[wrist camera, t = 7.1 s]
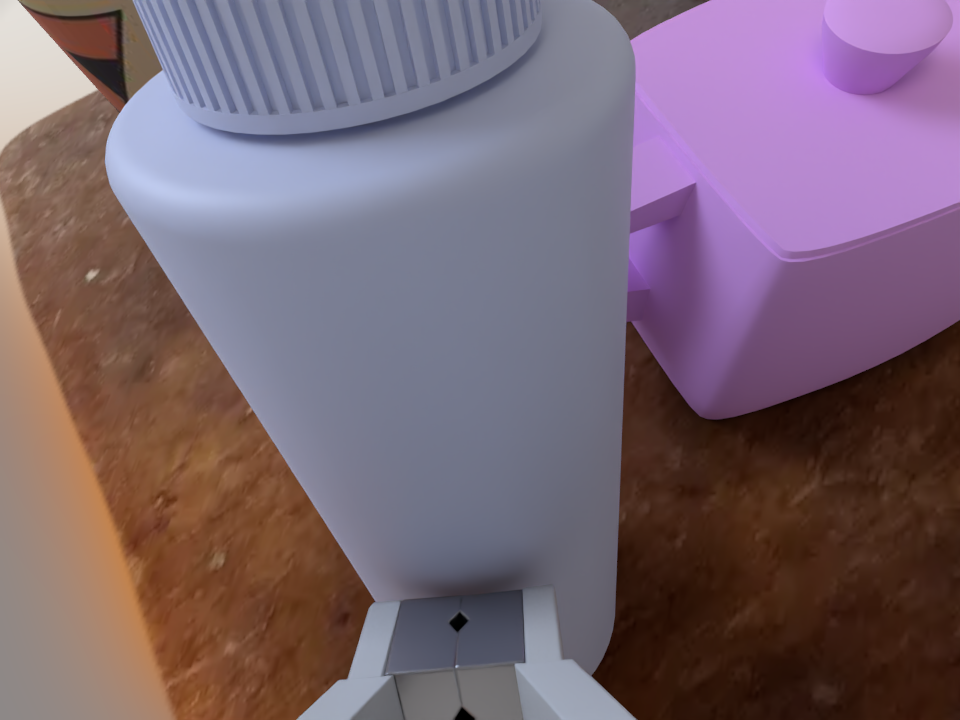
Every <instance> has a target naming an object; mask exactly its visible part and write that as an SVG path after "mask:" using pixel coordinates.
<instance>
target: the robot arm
mask: <svg viewBox="0 0 960 720" xmlns="http://www.w3.org/2000/svg"><path fill="white" fill-rule="evenodd" d="M296 720H637V719H636V718H635V717H634V716H633V715H632V714H631V713H629V712H628V711H627V710H626V709H625V708H624V707H623V706H622V705H621V704H620V703H619V702H618V701H617V700H616V699H615V698H614V697H613V696H612V695H611V694H610V693H608V692H607V691H606V690H605V689H604V688H603V687H602V686H601V685H600V684H599V683H598V682H597V681H596V680H595V679H594V678H593V677H592V676H591V675H590V674H589V673H587V672H586V671H585V670H584V669H583V668H582V667H581V666H580V665H579V664H578V663H577V662H576V661H575V660H574V659H565V660H564V653H563V645H562V638H561V630H560V622H559V615H558V607H557V600H556V592H555V587H554V586H553V584H550V585H542V586H534V587H527V588H523V589H519V590H509V591H500V592H491V593H481V594H472V595H457V596H444V597H431V598H418V599H405V600H403V601H402V600H396V601H385V602H374V603H373V604H372V605H371V606H370V608H369V609H368V613H367V616H366V619H365V623H364V626H363V629H362V633H361V636H360V639H359V643H358V646H357V649H356V653H355V656H354V659H353V663H352V666H351V669H350V672H349V676H348V679H346V680H338V681H337V682H336V683H335V684H334V685H333V686H332V687H331V688H330V689H329V690H327V691H326V692H325V693H324V694H323V695H322V696H321V697H320V698H319V699H318V700H317V701H316V702H315V703H314V704H313V705H311V706H310V707H309V708H308V709H307V710H306V711H305V712H304V713H303V714H302V715H301V716H300V717H299V718H298V719H296Z"/></svg>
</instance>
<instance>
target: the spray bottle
mask: <svg viewBox="0 0 960 720" xmlns="http://www.w3.org/2000/svg"><path fill="white" fill-rule="evenodd" d="M132 1H133V3H134V5H135V8H136V10H137V12H138V14H139V17H140V19H141V21H142V23H143V26H144V28H145V30H146V32H147V35H148V37H149V39H150V41H151V44H152V46H153V48H154V51H155V53H156V55H157V57H158V60H159V62H160V64H161V66H162V69H163V70H162V71H161V72H160V73H158V74H157V75H156V76H154V77H153V78H152V79H151V80H149V81H148V82H147V83H146V84H145V85H144V86H143V87H142V88H141V89H140V90H139V91H137V92H136V93H135V94H134V95H133V97H132V98H131V99H130V100H129V101H128V102H127V104H126V105H125V106H124V107H123V109H122V110H121V112H120V114H119V115H118V117H117V119H116V120H115V122H114V124H113V126H112V128H111V131H110V134H109V137H108V139H107V145H106V155H105V165H106V171H107V175H108V179H109V183H110V186H111V188H112V190H113V192H114V194H115V195H116V197H117V199H118V200H119V202H120V203H121V205H122V207H123V208H124V210H125V211H126V213H127V214H128V216H129V217H130V219H131V221H132V222H133V224H134V225H135V227H136V228H137V230H138V232H139V233H140V235H141V236H142V238H143V239H144V241H145V242H146V244H147V246H148V247H149V249H150V250H151V252H152V253H153V255H154V256H155V258H156V260H157V261H158V263H159V264H160V266H161V267H162V269H163V271H164V272H165V274H166V275H167V277H168V278H169V280H170V281H171V283H172V285H173V286H174V288H175V289H176V291H177V292H178V294H179V296H180V297H181V299H182V300H183V302H184V303H185V305H186V306H187V308H188V310H189V311H190V313H191V314H192V316H193V317H194V319H195V320H196V322H197V324H198V325H199V327H200V328H201V330H202V331H203V333H204V335H205V336H206V338H207V339H208V341H209V342H210V344H211V345H212V347H213V349H214V350H215V352H216V353H217V355H218V356H219V358H220V359H221V361H222V363H223V364H224V366H225V367H226V369H227V370H228V372H229V374H230V375H231V377H232V378H233V380H234V381H235V383H236V384H237V386H238V388H239V389H240V391H241V392H242V394H243V395H244V397H245V398H246V400H247V402H248V403H249V405H250V406H251V408H252V409H253V411H254V413H255V414H256V416H257V417H258V419H259V420H260V422H261V423H262V425H263V427H264V428H265V430H266V431H267V433H268V434H269V436H270V437H271V439H272V441H273V442H274V444H275V445H276V447H277V448H278V450H279V452H280V453H281V455H282V456H283V458H284V459H285V461H286V462H287V464H288V466H289V467H290V469H291V470H292V472H293V473H294V475H295V477H296V478H297V480H298V481H299V483H300V484H301V486H302V487H303V489H304V491H305V492H306V494H307V495H308V497H309V498H310V500H311V501H312V503H313V505H314V506H315V508H316V509H317V511H318V512H319V514H320V516H321V517H322V519H323V520H324V522H325V523H326V525H327V526H328V528H329V530H330V531H331V533H332V534H333V536H334V537H335V539H336V540H337V542H338V544H339V545H340V547H341V548H342V550H343V551H344V553H345V555H346V556H347V558H348V559H349V561H350V562H351V564H352V565H353V567H354V569H355V570H356V572H357V573H358V575H359V576H360V578H361V579H362V581H363V583H364V584H365V586H366V587H367V589H368V590H369V592H370V594H371V595H372V597H373V598H374V600H375V601H376V602H385V601H396V600H402V601H403V600H405V599H418V598H431V597H444V596H457V595H472V594H481V593H491V592H500V591H509V590H519V589H523V588H527V587H534V586H542V585H550V584H553V586H554V587H555V592H556V600H557V607H558V615H559V622H560V630H561V638H562V645H563V653H564V660H565V659H574V660H575V661H576V662H577V663H578V664H579V665H580V666H581V667H582V668H583V669H584V670H585V671H586V672H587V673H589V674H590V675H591V676H592V674H593V673H594V672H595V670H596V669H597V667H598V665H599V664H600V662H601V660H602V659H603V657H604V654H605V652H606V650H607V647H608V645H609V642H610V639H611V635H612V632H613V626H614V619H615V602H616V576H617V550H618V524H619V498H620V472H621V446H622V420H623V394H624V368H625V342H626V316H627V290H628V264H629V238H630V212H631V186H632V160H633V134H634V108H635V82H636V63H635V55H634V52H633V48H632V45H631V42H630V40H629V37H628V35H627V33H626V32H625V30H624V29H623V28H622V26H621V25H620V23H619V22H618V21H617V19H616V18H615V17H614V16H613V15H612V14H610V13H609V12H608V11H607V10H606V9H605V8H603V7H602V6H600V5H599V4H597V3H595V2H594V1H592V0H132Z"/></svg>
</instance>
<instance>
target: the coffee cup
mask: <svg viewBox="0 0 960 720" xmlns="http://www.w3.org/2000/svg"><path fill="white" fill-rule="evenodd" d="M18 1H19V2H20V3H21V4H22V6H23V7H24V8H25V9H26V10H27V11H28V12H29V13H30V14H31V15H32V17H33V18H34V19H35V20H36V21H37V22H38V23H39V24H40V26H41V27H42V28H43V29H44V30H45V31H46V32H47V33H48V34H49V36H50V37H51V38H52V39H53V40H54V41H55V42H56V43H57V44H58V45H59V47H60V48H61V49H62V50H63V51H64V52H65V53H66V54H67V56H68V57H69V58H70V59H71V60H72V61H73V62H74V63H75V64H76V66H78V68H79V69H80V70H81V71H82V72H83V73H84V74H85V75H86V76H87V78H88V79H89V80H90V81H91V82H92V83H93V84H94V85H95V86H96V88H97V89H98V90H99V91H100V92H101V93H102V94H103V95H104V96H105V97H106V99H107V100H108V101H109V102H110V103H111V104H112V105H113V106H114V107H115V108H116V109H117V111H118V112H119V113H120V112H121V110H122V109H123V107H124V106H125V105H126V104H127V102H128V101H129V100H130V99H131V98H132V97H133V95H134V94H135V93H136V92H137V91H139V90H140V89H141V88H142V87H143V86H144V85H145V84H146V83H147V82H148V81H149V80H151V79H152V78H153V77H154V76H156V75H157V74H158V73H160V72H161V71H162V70H163V69H162V66H161V64H160V62H159V60H158V57H157V55H156V53H155V51H154V48H153V46H152V44H151V41H150V39H149V37H148V35H147V32H146V30H145V28H144V26H143V23H142V21H141V19H140V17H139V14H138V12H137V10H136V8H135V5H134V3H133V1H132V0H18Z"/></svg>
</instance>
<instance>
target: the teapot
mask: <svg viewBox="0 0 960 720" xmlns="http://www.w3.org/2000/svg"><path fill="white" fill-rule="evenodd" d="M630 42H631V45H632V48H633V52H634V55H635V63H636V82H635V108H634V134H633V160H632V186H631V212H630V238H629V264H628V290H627V316H626V322H632V324H633V325H634V327H635V328H636V330H637V331H638V333H639V334H640V336H641V337H642V339H643V340H644V342H645V343H646V345H647V346H648V348H649V349H650V351H651V352H652V354H653V355H654V357H655V358H656V360H657V361H658V363H659V364H660V366H661V367H662V368H663V370H664V371H665V373H666V374H667V376H668V377H669V379H670V380H671V382H672V383H673V384H674V386H675V387H676V388H677V390H678V391H679V392H680V394H681V395H682V396H683V398H684V399H685V400H686V402H687V403H688V404H689V406H690V407H691V408H692V409H693V410H694V411H695V412H696V413H697V414H698V415H699V416H700V417H703V418H705V419H716V420H718V419H724V418H730V417H736V416H739V415H743V414H747V413H750V412H754V411H758V410H761V409H764V408H767V407H770V406H773V405H776V404H779V403H782V402H784V401H787V400H790V399H793V398H796V397H799V396H802V395H804V394H807V393H810V392H813V391H816V390H818V389H821V388H824V387H826V386H829V385H832V384H834V383H837V382H839V381H842V380H845V379H847V378H849V377H852V376H854V375H856V374H859V373H861V372H863V371H866V370H868V369H870V368H873V367H875V366H877V365H879V364H881V363H883V362H885V361H887V360H889V359H892V358H894V357H896V356H898V355H900V354H902V353H904V352H906V351H907V350H909V349H911V348H913V347H915V346H917V345H919V344H920V343H922V342H924V341H926V340H927V339H929V338H931V337H933V336H934V335H936V334H938V333H939V332H941V331H943V330H944V329H946V328H948V327H949V326H951V325H953V324H954V323H956V322H957V321H959V320H960V0H710V1H708V2H706V3H704V4H701V5H699V6H697V7H695V8H693V9H690V10H688V11H686V12H684V13H682V14H680V15H678V16H675V17H673V18H671V19H669V20H667V21H665V22H663V23H661V24H659V25H657V26H655V27H653V28H651V29H650V30H648V31H646V32H644V33H642V34H640V35H639V36H637V37H636V38H634V39H633V40H631V41H630Z"/></svg>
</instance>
